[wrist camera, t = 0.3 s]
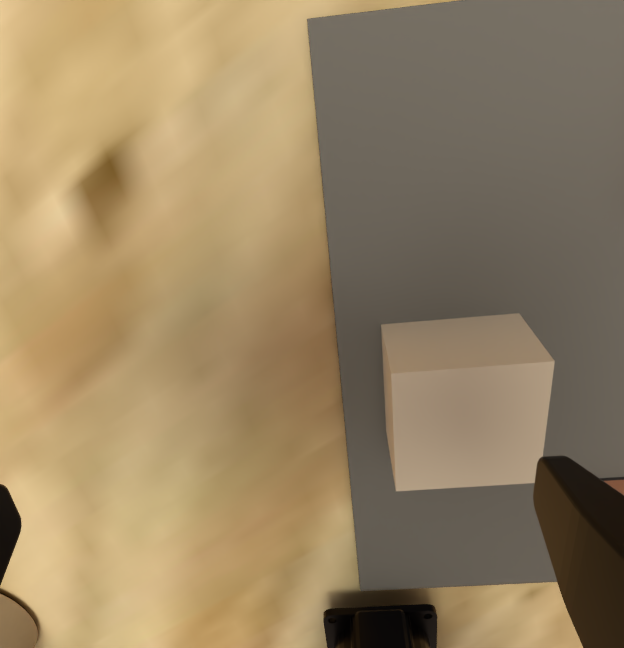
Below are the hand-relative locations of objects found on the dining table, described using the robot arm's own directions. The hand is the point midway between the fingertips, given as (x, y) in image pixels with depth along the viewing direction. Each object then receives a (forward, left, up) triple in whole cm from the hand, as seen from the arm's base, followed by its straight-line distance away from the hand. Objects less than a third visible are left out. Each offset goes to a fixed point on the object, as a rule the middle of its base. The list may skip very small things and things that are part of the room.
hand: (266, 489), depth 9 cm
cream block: (-8, -6, -14) cm, 17 cm away
